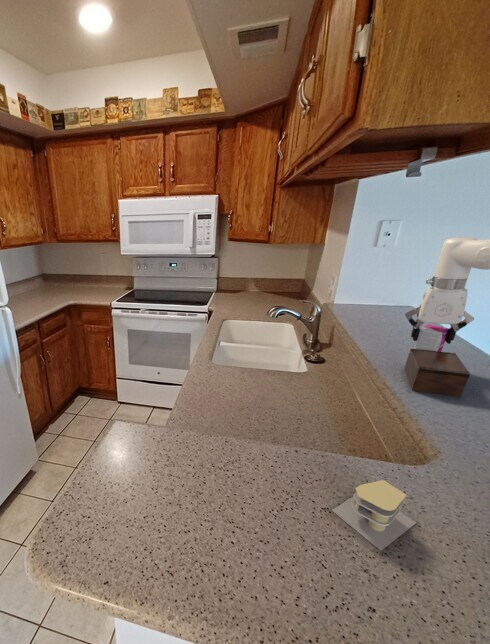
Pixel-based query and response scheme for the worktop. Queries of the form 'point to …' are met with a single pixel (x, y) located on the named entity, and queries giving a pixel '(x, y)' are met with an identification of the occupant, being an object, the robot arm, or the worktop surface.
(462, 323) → the robot arm
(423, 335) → the supplement box
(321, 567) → the worktop surface
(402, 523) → the stacked layers on plate
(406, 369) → the dark wooden box
